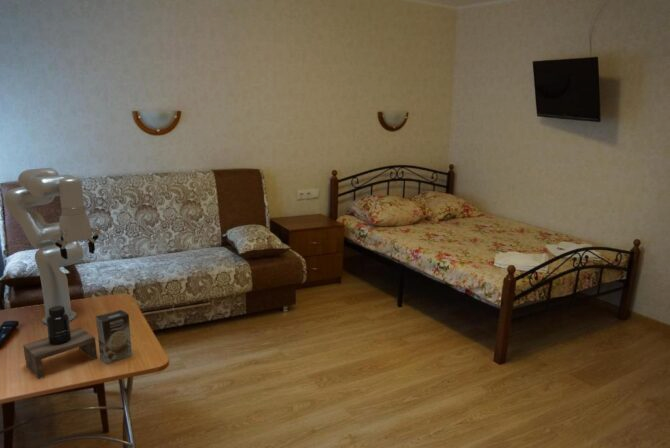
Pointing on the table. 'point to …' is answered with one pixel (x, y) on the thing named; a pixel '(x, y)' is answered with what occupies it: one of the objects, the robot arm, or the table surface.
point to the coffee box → (114, 336)
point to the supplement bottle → (58, 326)
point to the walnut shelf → (58, 349)
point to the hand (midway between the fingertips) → (78, 255)
